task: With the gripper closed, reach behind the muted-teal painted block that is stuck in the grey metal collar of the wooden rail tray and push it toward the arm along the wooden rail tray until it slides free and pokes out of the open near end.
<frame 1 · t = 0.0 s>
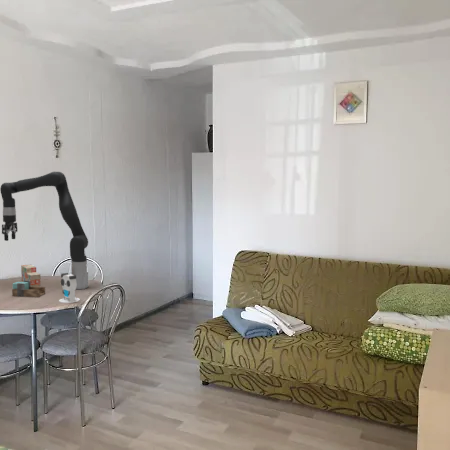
hand: (10, 239, 303), 29 cm above the table, fingers open, 8 cm apart
panda figurine: (69, 300, 273), on the table
stack of blocks: (30, 286, 305), on the table
block: (20, 287, 283), point 4 cm above the table, slide at 0.0 cm
wooden rail tray: (28, 294, 283), on the table
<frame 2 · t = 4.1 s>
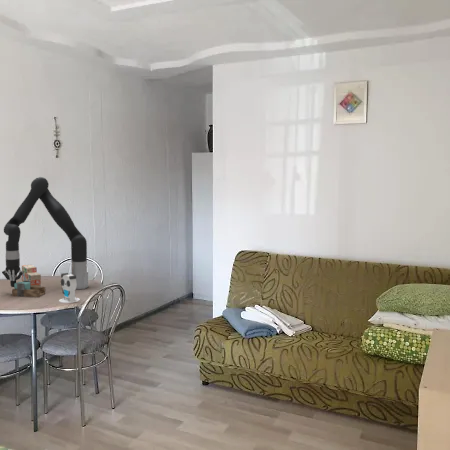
hand: (13, 286, 283), 4 cm above the table, fingers closed
block: (22, 287, 283), point 4 cm above the table, slide at 1.1 cm
everything else where it was.
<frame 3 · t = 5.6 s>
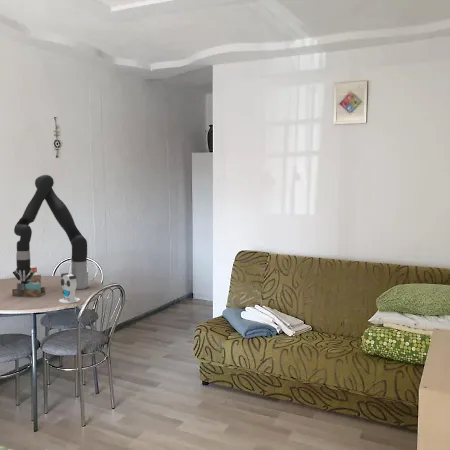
hand: (24, 287, 283), 4 cm above the table, fingers closed
block: (33, 288, 282), point 4 cm above the table, slide at 7.6 cm, touching gripper
everything else where it was.
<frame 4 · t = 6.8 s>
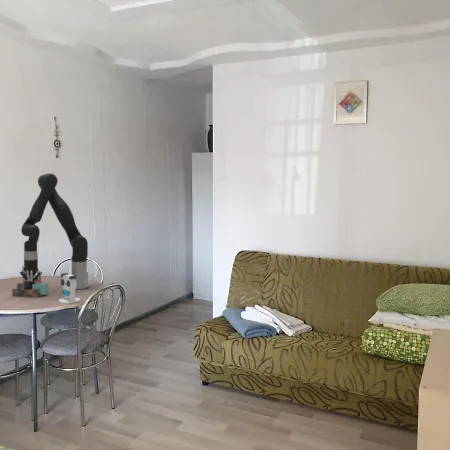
hand: (31, 287, 282), 5 cm above the table, fingers closed
block: (40, 288, 282), point 4 cm above the table, slide at 12.0 cm, touching gripper
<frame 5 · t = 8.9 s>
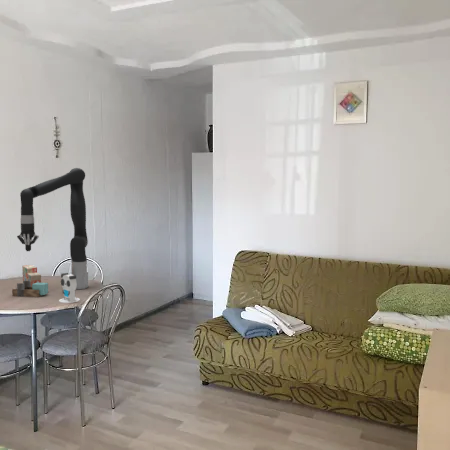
hand: (28, 251, 289), 25 cm above the table, fingers closed
block: (40, 288, 282), point 4 cm above the table, slide at 12.0 cm
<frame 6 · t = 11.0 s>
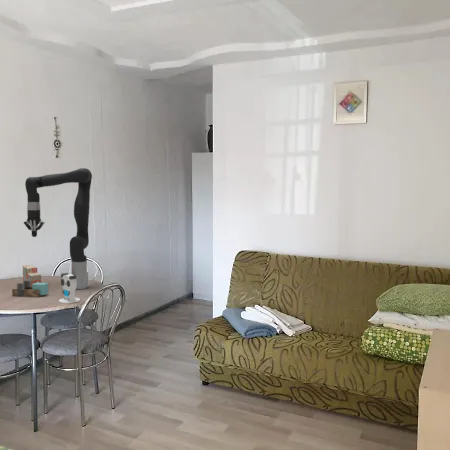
hand: (34, 236, 300), 32 cm above the table, fingers closed
at the end: block slide at 12.0 cm; the gripper is holding nothing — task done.
